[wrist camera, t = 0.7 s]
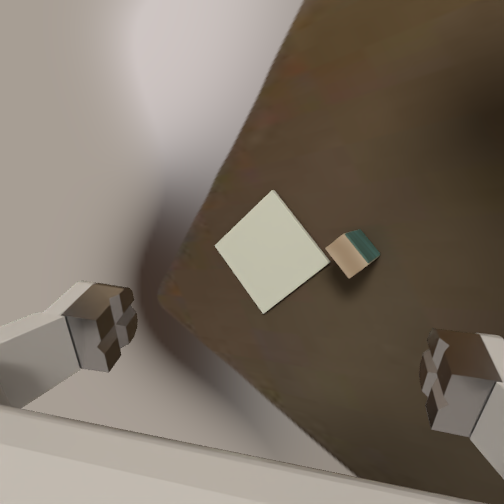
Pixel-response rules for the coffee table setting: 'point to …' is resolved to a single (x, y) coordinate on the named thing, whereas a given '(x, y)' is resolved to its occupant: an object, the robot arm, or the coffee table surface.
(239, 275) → the sage mat
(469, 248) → the coffee table surface
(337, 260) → the card deck block
